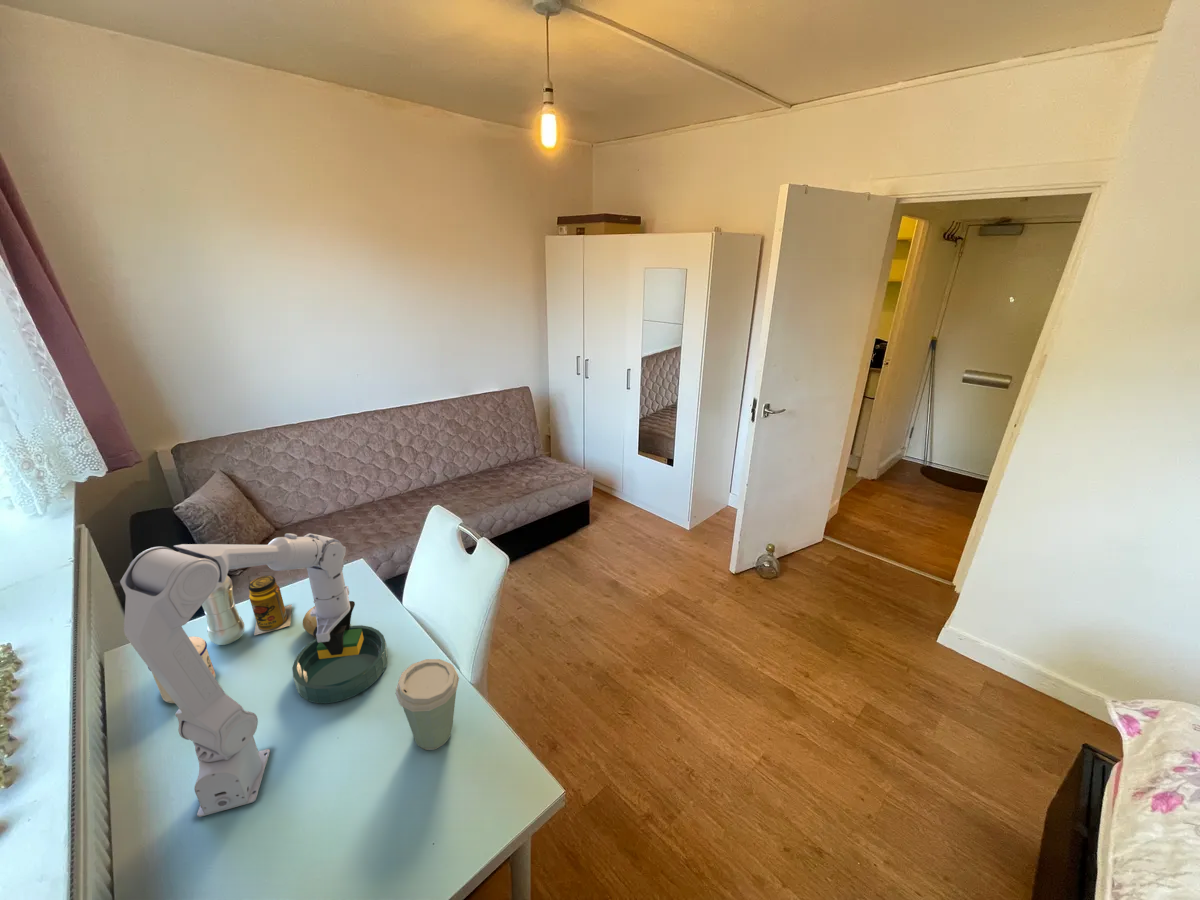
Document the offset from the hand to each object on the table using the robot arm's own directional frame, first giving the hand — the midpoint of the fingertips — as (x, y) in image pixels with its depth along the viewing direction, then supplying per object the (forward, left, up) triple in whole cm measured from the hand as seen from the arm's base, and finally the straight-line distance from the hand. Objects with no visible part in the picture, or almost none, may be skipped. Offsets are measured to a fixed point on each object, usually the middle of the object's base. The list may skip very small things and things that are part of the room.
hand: (340, 644), depth 101 cm
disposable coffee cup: (-21, -17, -8) cm, 28 cm away
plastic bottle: (+19, +27, -8) cm, 34 cm away
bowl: (+1, +1, -8) cm, 8 cm away
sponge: (0, 0, -1) cm, 1 cm away
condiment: (+23, +19, -8) cm, 31 cm away
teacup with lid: (+7, +31, -8) cm, 32 cm away
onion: (+16, +7, -8) cm, 19 cm away
